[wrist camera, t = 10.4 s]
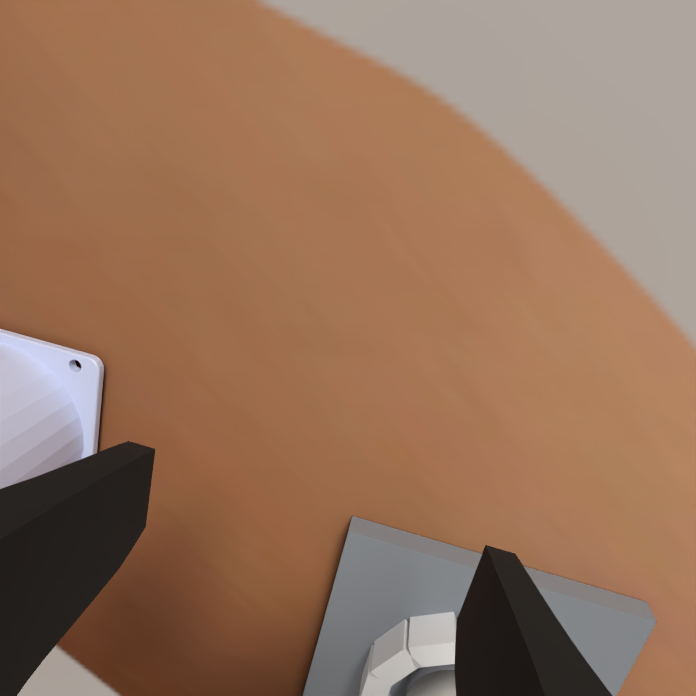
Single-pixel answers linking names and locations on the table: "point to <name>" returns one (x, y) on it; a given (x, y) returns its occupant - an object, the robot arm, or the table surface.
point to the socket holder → (444, 615)
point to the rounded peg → (432, 681)
